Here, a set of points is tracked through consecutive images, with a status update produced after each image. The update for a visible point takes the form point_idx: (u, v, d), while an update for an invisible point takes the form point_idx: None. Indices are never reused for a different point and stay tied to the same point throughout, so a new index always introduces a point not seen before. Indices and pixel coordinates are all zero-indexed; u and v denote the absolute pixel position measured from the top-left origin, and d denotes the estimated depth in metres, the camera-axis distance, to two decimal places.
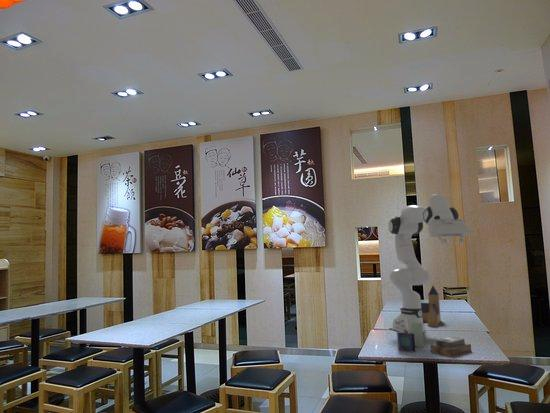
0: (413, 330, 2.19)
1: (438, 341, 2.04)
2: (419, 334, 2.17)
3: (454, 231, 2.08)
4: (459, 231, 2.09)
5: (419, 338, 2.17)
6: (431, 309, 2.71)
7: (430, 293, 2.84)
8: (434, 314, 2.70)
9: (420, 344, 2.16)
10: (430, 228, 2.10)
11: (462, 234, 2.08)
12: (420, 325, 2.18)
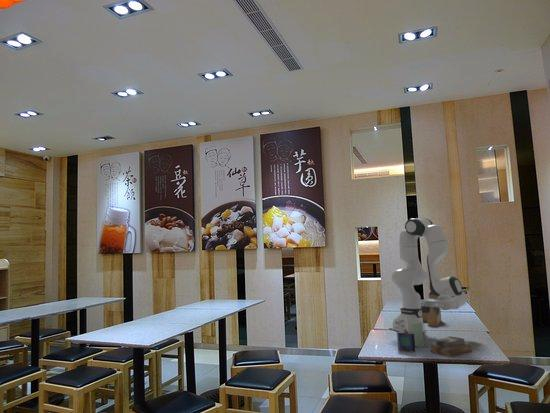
0: (413, 330, 2.19)
1: (438, 341, 2.04)
2: (419, 334, 2.17)
3: (433, 306, 2.31)
4: (429, 306, 2.33)
5: (419, 338, 2.17)
6: (431, 309, 2.71)
7: (431, 293, 2.84)
8: (434, 314, 2.70)
9: (420, 344, 2.16)
10: (454, 305, 2.23)
11: (426, 305, 2.34)
12: (420, 325, 2.18)
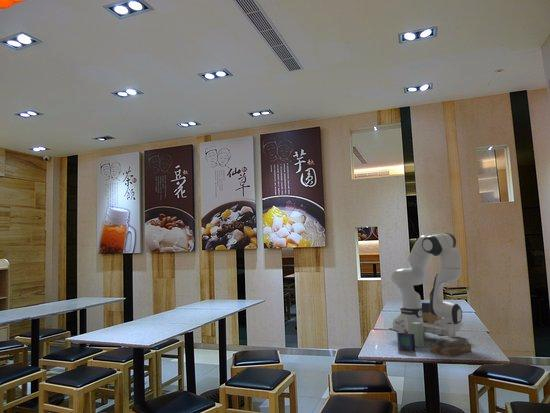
0: (413, 330, 2.19)
1: (438, 341, 2.04)
2: (419, 334, 2.17)
3: (430, 332, 2.28)
4: None
5: (419, 338, 2.17)
6: None
7: (431, 293, 2.84)
8: None
9: (420, 344, 2.16)
10: (451, 333, 2.20)
11: None
12: (420, 325, 2.18)
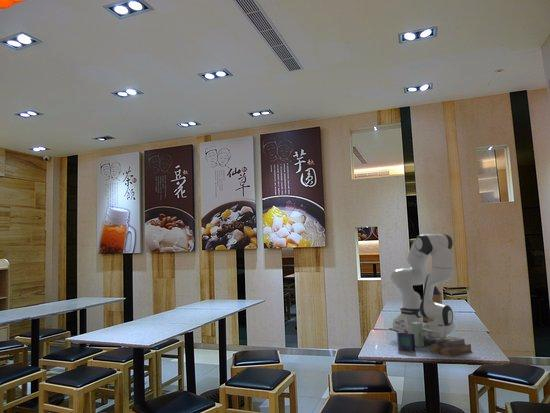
0: (413, 330, 2.19)
1: (438, 341, 2.04)
2: (419, 334, 2.17)
3: None
4: None
5: (419, 338, 2.17)
6: None
7: None
8: None
9: (420, 344, 2.16)
10: (442, 335, 2.15)
11: None
12: (420, 325, 2.18)
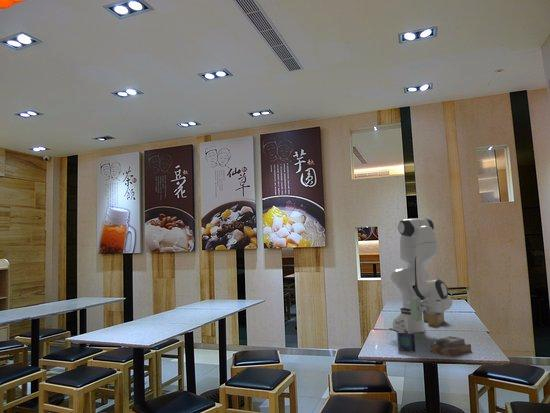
0: (411, 305, 2.20)
1: (438, 341, 2.04)
2: (417, 309, 2.18)
3: None
4: None
5: (418, 313, 2.18)
6: None
7: None
8: (434, 314, 2.70)
9: (418, 319, 2.18)
10: (440, 309, 2.16)
11: None
12: (418, 300, 2.19)
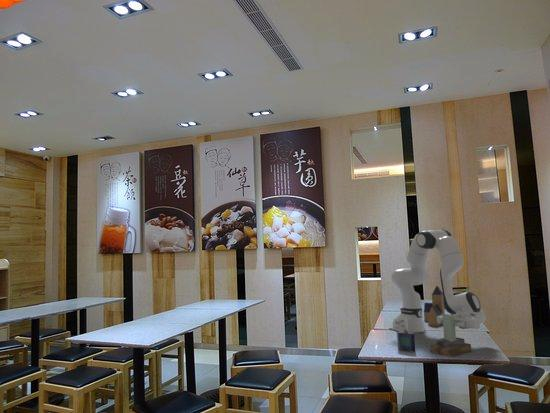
0: (444, 322, 2.06)
1: (438, 341, 2.04)
2: (451, 326, 2.04)
3: None
4: None
5: (452, 331, 2.04)
6: (431, 309, 2.71)
7: (434, 293, 2.83)
8: (434, 314, 2.70)
9: (452, 337, 2.03)
10: (476, 325, 2.02)
11: None
12: (452, 317, 2.05)
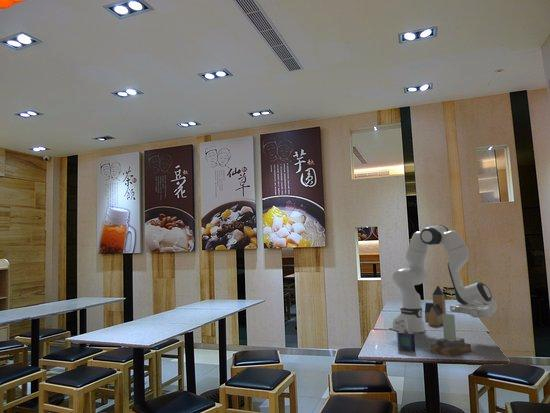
0: (444, 322, 2.06)
1: (438, 341, 2.04)
2: (451, 326, 2.04)
3: (464, 313, 2.18)
4: (459, 312, 2.20)
5: (452, 331, 2.04)
6: (432, 309, 2.71)
7: (434, 293, 2.83)
8: (434, 314, 2.70)
9: (452, 337, 2.03)
10: (488, 314, 2.10)
11: (455, 311, 2.21)
12: (452, 317, 2.05)
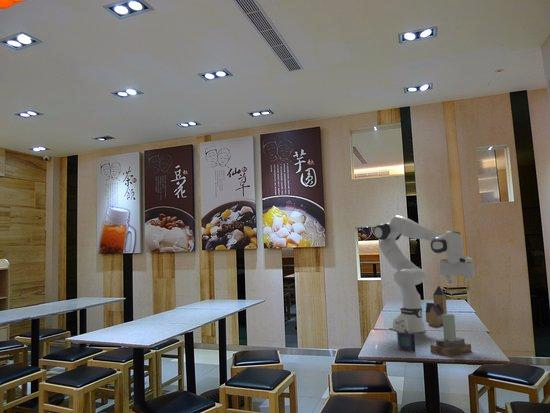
0: (444, 322, 2.06)
1: (438, 341, 2.04)
2: (451, 326, 2.04)
3: None
4: None
5: (452, 331, 2.04)
6: (432, 309, 2.71)
7: (435, 293, 2.83)
8: (435, 314, 2.70)
9: (452, 337, 2.03)
10: (473, 269, 2.24)
11: None
12: (452, 317, 2.05)
